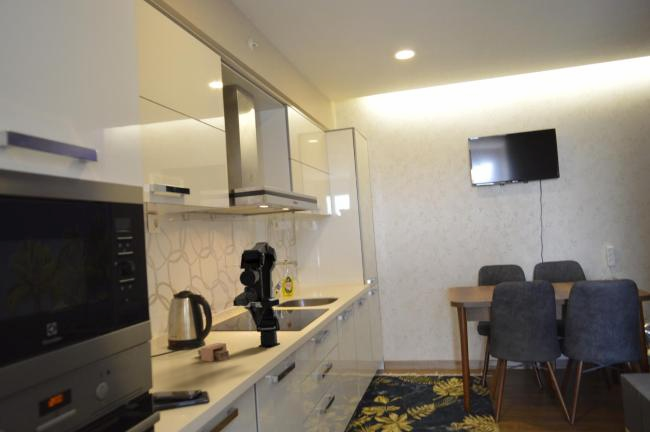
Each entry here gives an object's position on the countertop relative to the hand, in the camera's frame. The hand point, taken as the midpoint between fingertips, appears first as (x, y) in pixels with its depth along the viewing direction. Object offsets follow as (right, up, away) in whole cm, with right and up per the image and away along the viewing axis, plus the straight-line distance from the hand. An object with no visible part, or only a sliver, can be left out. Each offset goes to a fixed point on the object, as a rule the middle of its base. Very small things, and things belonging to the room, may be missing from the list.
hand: (257, 325), depth 175 cm
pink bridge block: (-17, -13, +4) cm, 22 cm away
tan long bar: (-18, -14, +5) cm, 23 cm away
